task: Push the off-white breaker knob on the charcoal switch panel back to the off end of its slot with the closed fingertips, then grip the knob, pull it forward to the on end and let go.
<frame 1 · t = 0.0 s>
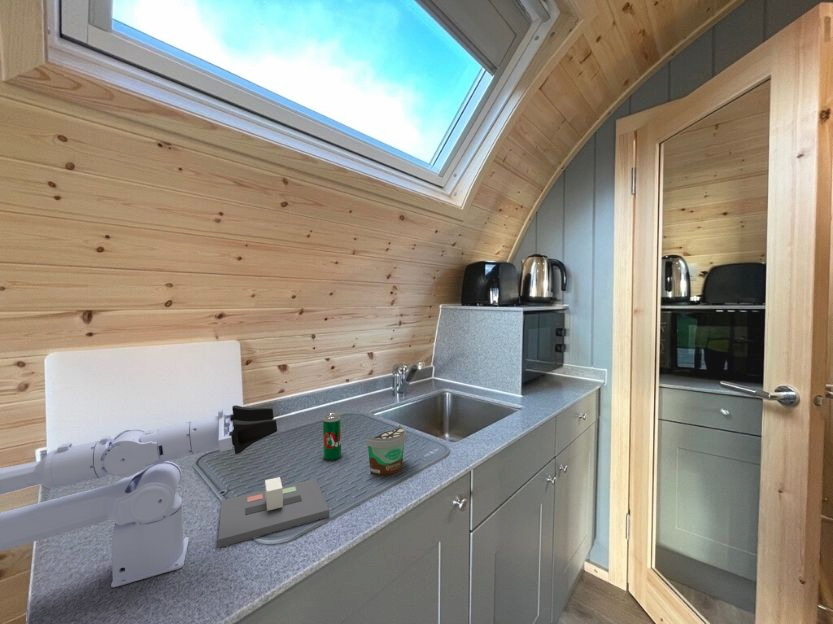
hand: (274, 419, 69), 22 cm above the worktop, tool horizontal, fingers open, 7 cm apart
breaker knob: (273, 493, 75), point 4 cm above the worktop, slide at 3.5 cm
food container: (392, 471, 92), on the worktop
switch panel: (274, 511, 75), on the worktop
soda can: (332, 457, 100), on the worktop
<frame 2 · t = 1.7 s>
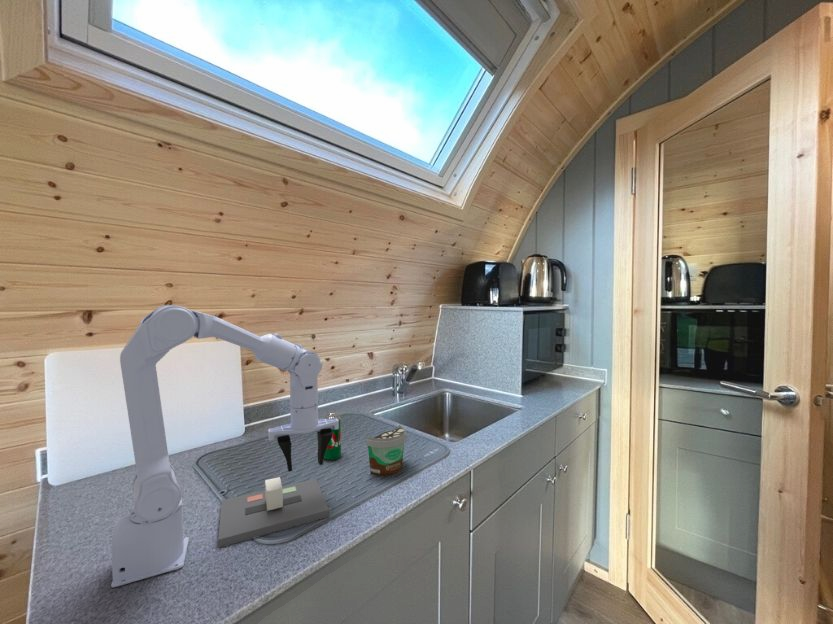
hand: (305, 466, 77), 8 cm above the worktop, tool pointing down, fingers open, 6 cm apart
nothing on the worktop moved.
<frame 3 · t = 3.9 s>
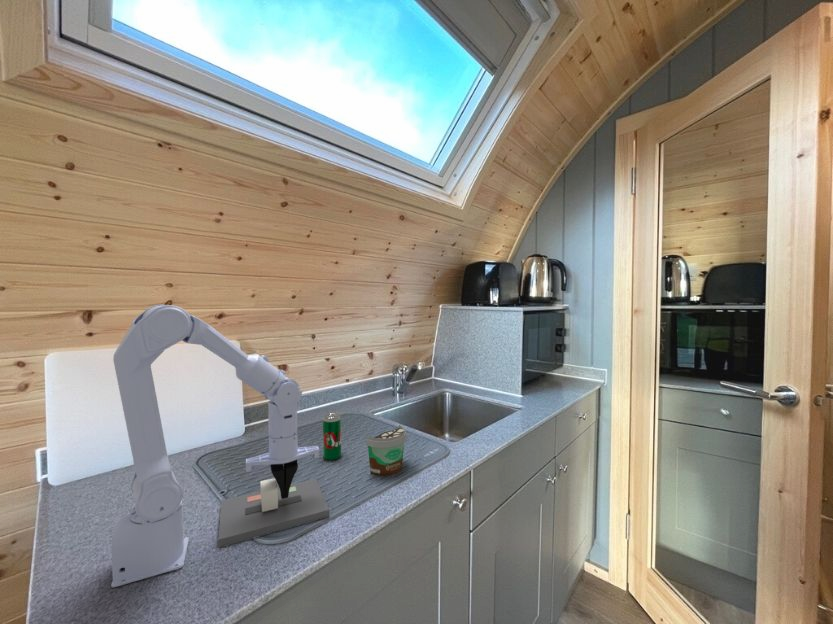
hand: (284, 496, 76), 3 cm above the worktop, tool pointing down, fingers closed
breaker knob: (269, 494, 74), point 4 cm above the worktop, slide at 2.6 cm, touching gripper
everything else where it was.
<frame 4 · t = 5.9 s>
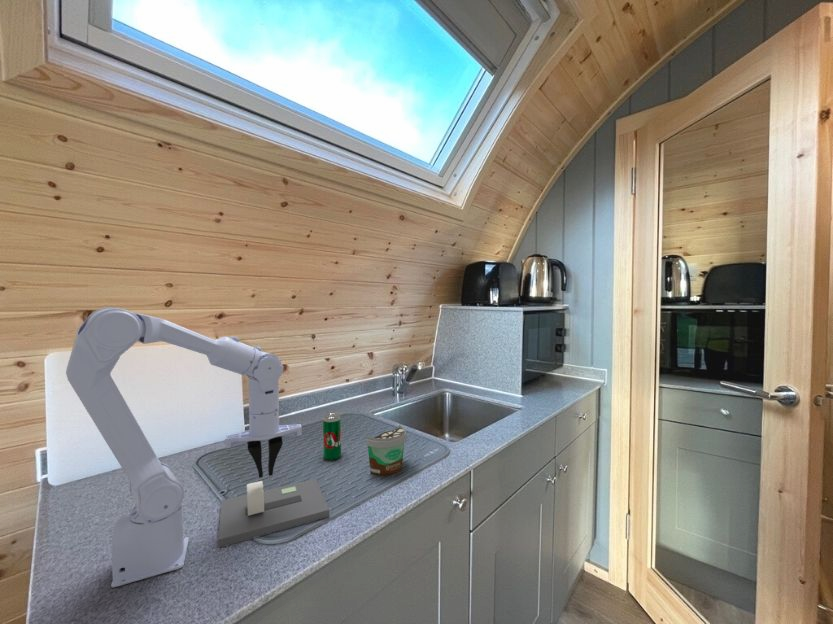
hand: (265, 474, 74), 8 cm above the worktop, tool pointing down, fingers closed
breaker knob: (255, 497, 73), point 4 cm above the worktop, slide at -0.1 cm
everything else where it was.
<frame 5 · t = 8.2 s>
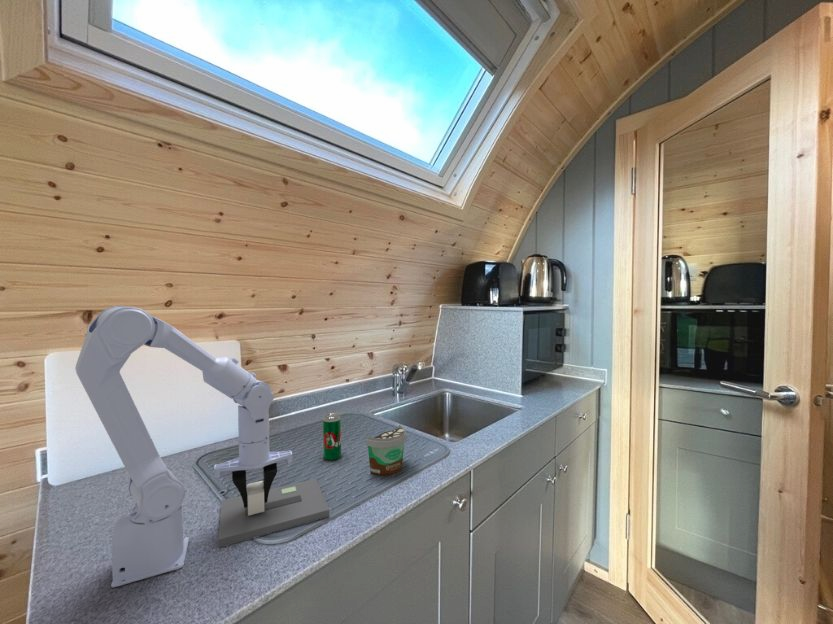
hand: (255, 502, 73), 3 cm above the worktop, tool pointing down, fingers closed on breaker knob, 3 cm apart
breaker knob: (255, 497, 73), point 4 cm above the worktop, slide at 0.0 cm, touching gripper
everything else where it was.
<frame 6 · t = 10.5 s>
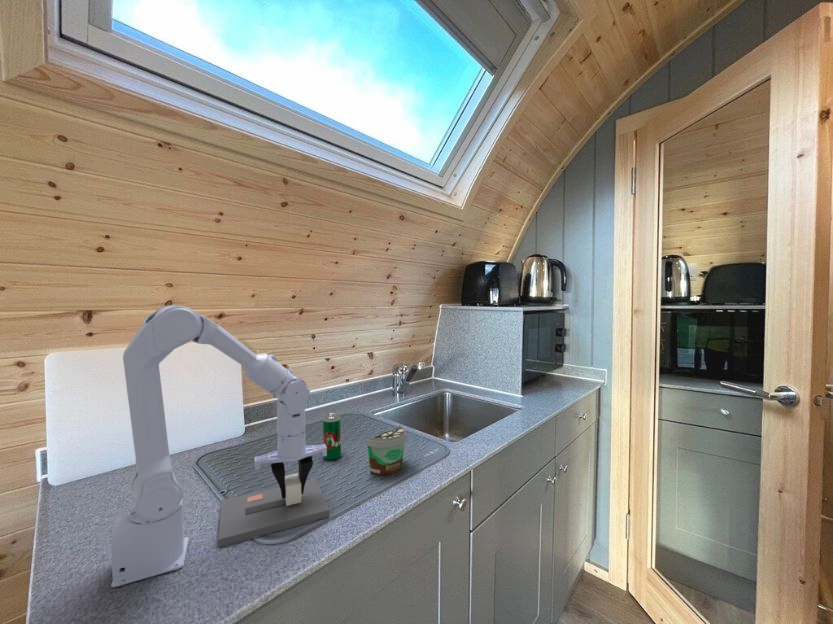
hand: (292, 493, 76), 3 cm above the worktop, tool pointing down, fingers closed on breaker knob, 3 cm apart
breaker knob: (292, 489, 76), point 4 cm above the worktop, slide at 7.2 cm, touching gripper
everything else where it was.
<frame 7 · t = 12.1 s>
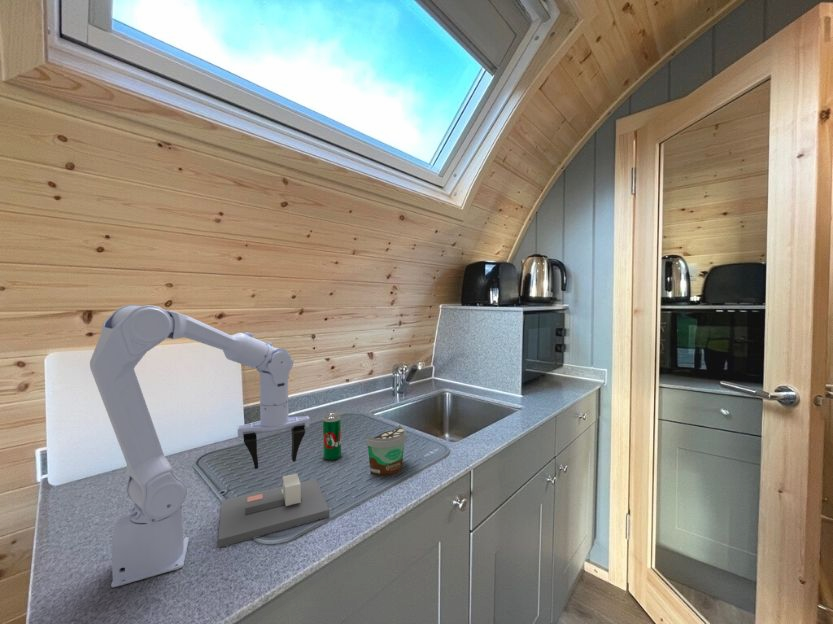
hand: (275, 463, 78), 9 cm above the worktop, tool pointing down, fingers open, 7 cm apart
breaker knob: (291, 489, 76), point 4 cm above the worktop, slide at 7.1 cm
everything else where it was.
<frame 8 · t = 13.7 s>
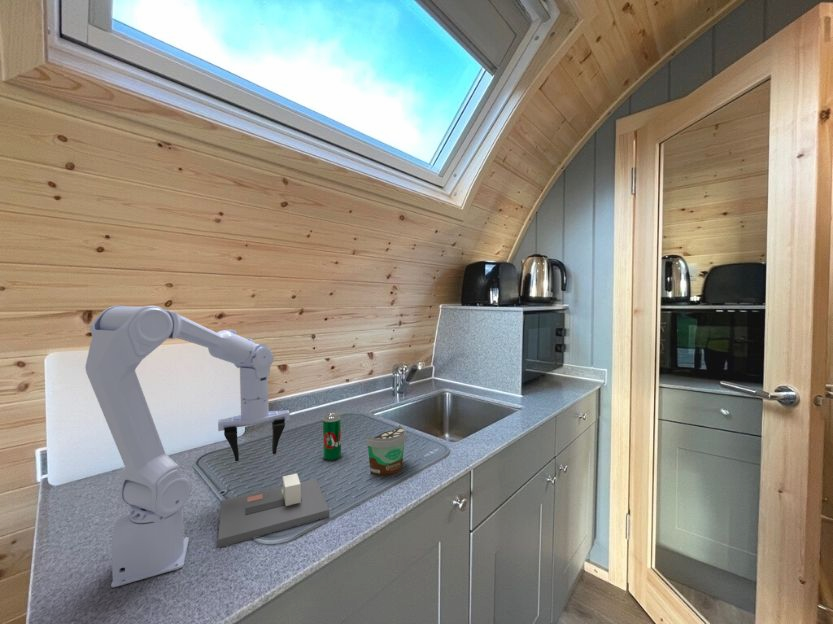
hand: (256, 455, 80), 9 cm above the worktop, tool pointing down, fingers open, 7 cm apart
nothing on the worktop moved.
at the end: breaker knob slide at 7.1 cm; the gripper is holding nothing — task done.
